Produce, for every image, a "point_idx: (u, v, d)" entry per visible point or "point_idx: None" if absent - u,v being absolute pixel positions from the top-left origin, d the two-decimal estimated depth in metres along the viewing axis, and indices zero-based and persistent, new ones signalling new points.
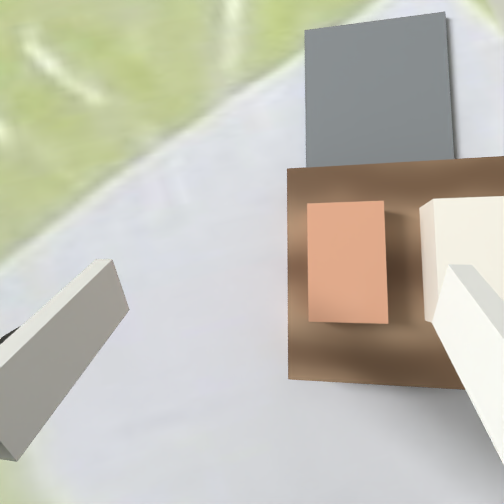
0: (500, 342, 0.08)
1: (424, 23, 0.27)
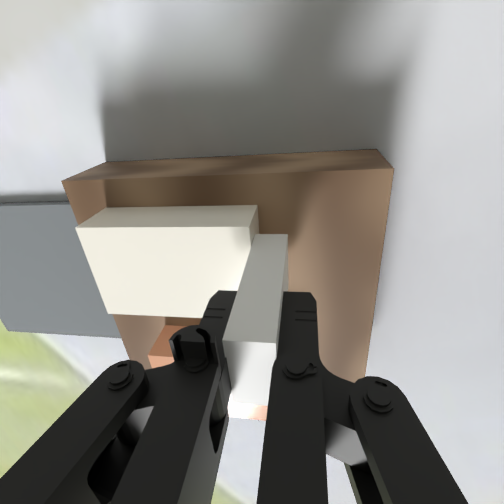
0: None
1: None
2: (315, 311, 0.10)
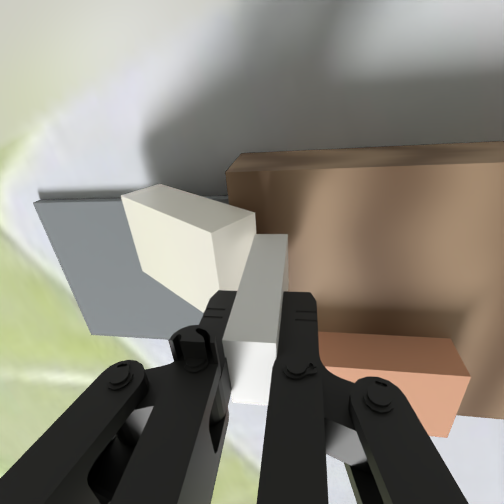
0: None
1: (53, 226, 0.22)
2: (315, 311, 0.10)
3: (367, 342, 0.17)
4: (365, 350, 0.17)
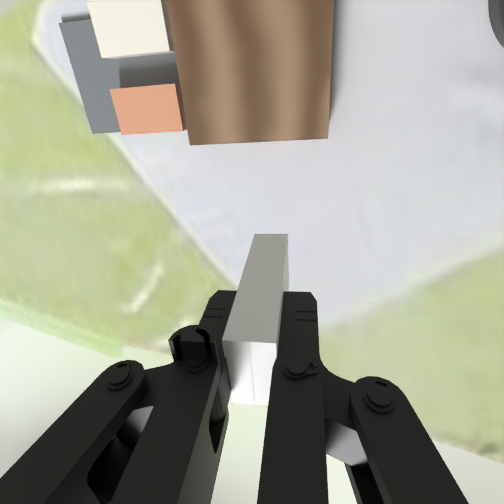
0: None
1: (70, 40, 0.36)
2: (315, 311, 0.10)
3: None
4: None
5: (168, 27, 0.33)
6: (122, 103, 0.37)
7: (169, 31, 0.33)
